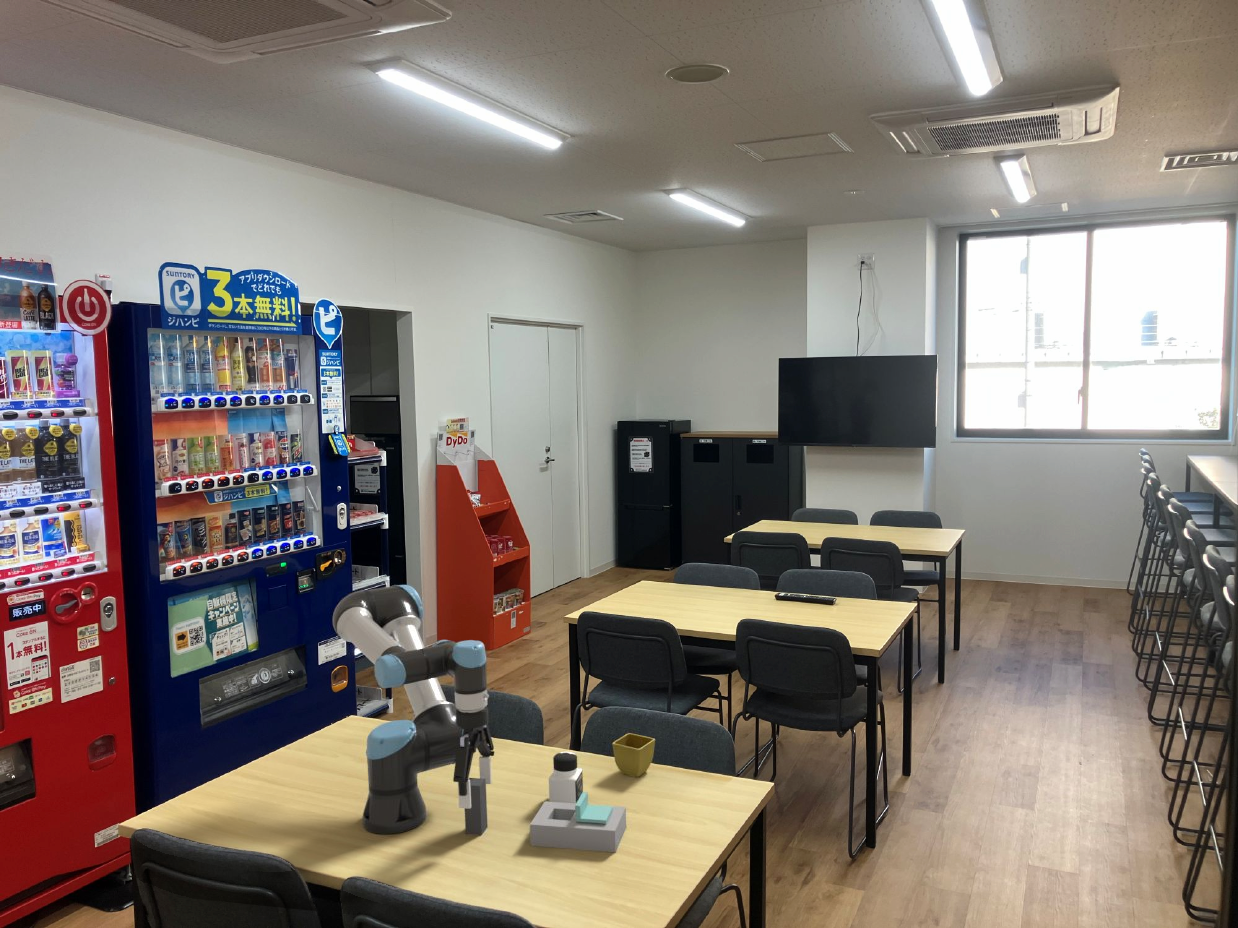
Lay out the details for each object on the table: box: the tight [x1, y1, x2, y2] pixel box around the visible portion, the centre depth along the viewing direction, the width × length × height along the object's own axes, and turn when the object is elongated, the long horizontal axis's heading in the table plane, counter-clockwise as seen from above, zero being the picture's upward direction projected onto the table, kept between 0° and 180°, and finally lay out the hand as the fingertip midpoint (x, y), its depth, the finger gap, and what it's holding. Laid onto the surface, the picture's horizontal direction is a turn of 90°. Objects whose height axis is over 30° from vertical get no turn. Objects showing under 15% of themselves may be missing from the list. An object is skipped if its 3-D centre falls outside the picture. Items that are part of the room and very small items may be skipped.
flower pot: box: [611, 732, 656, 778], centre depth 249 cm, size 9×9×9 cm
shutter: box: [575, 791, 614, 824], centre depth 213 cm, size 7×7×4 cm
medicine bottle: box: [548, 751, 584, 804], centre depth 233 cm, size 7×7×12 cm
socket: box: [529, 801, 627, 853], centre depth 214 cm, size 20×12×5 cm, turn 78°
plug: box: [464, 777, 488, 836], centre depth 218 cm, size 4×4×12 cm
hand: (475, 795), depth 218 cm, fingers open, 13 cm apart
